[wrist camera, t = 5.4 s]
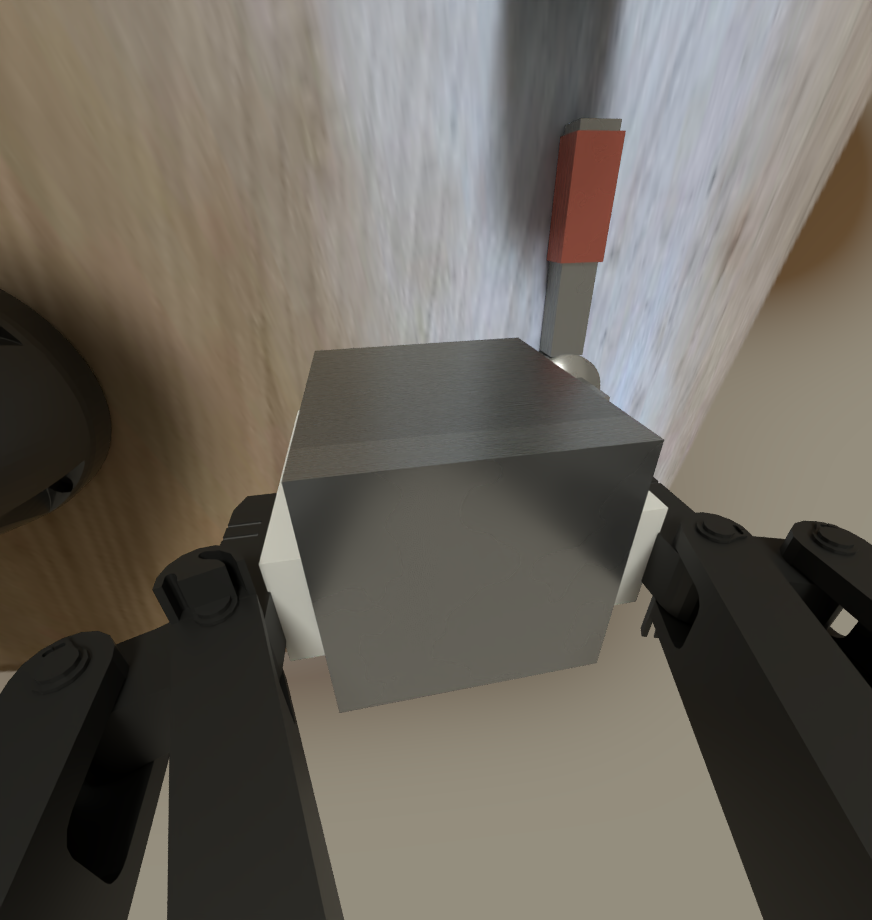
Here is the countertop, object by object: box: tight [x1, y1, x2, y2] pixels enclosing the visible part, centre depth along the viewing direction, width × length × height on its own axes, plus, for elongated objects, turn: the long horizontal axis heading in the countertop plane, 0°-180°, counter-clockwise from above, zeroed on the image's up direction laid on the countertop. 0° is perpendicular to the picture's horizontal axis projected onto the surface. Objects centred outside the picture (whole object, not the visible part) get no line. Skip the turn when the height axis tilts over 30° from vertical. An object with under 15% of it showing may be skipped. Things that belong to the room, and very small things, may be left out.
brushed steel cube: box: [281, 338, 664, 713], centre depth 11 cm, size 6×6×7 cm
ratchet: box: [539, 118, 626, 401], centre depth 24 cm, size 5×17×6 cm, turn 1°
